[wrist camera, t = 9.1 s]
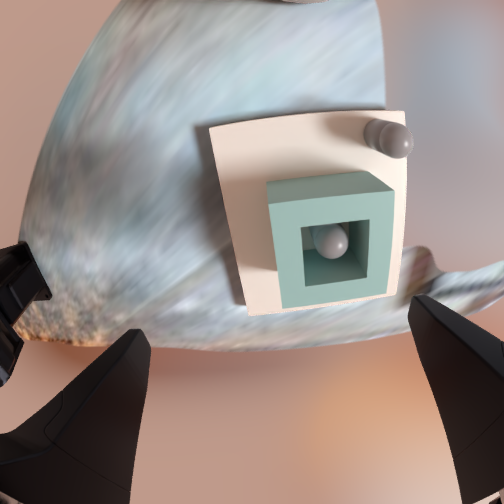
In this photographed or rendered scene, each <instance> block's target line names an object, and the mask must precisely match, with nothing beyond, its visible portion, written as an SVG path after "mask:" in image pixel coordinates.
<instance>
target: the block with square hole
mask: <svg viewBox="0 0 504 504" xmlns="http://www.w3.org/2000/svg"><path fill="white" fill-rule="evenodd" d="M266 185H267V196H268V206H269V213H270V220H271V227H272V234H273V242H274V249H275V256H276V263H277V271H278V279H279V286H280V294H281V302H282V309H285V308H294V307H301V306H309V305H316V304H323V303H330V302H337V301H344V300H350V299H356V298H362V297H368V296H374V295H380V294H386V292H387V285H388V277H389V269H390V260H391V250H392V238H393V223H394V202H395V191H394V190H393V189H392V188H391V187H389V186H388V185H386V184H385V183H384V182H382V181H381V180H380V179H378V178H377V177H375V176H374V175H373V174H371V173H370V172H368V171H364V172H351V173H339V174H329V175H319V176H309V177H300V178H292V179H283V180H276V181H268V182H266ZM340 222H349V245H348V248H347V250H346V252H345V253H344V254H343V255H342V256H340V257H338V258H335V259H328V258H325V257H323V256H321V255H320V254H319V253H318V252H317V250H316V249H311V250H303V251H302V239H301V228H300V227H307V226H315V225H324V224H332V223H340Z"/></svg>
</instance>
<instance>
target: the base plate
mask: <svg viewBox="0 0 504 504" xmlns="http://www.w3.org/2000/svg"><path fill="white" fill-rule="evenodd" d="M209 132H210V137H211V142H212V147H213V152H214V157H215V162H216V167H217V172H218V177H219V181H220V186H221V191H222V196H223V201H224V205H225V210H226V215H227V220H228V224H229V229H230V234H231V238H232V243H233V247H234V252H235V257H236V261H237V266H238V270H239V275H240V279H241V284H242V288H243V293H244V297H245V301H246V306H247V310H248V315H249V316H254V315H263V314H272V313H281V312H289V311H297V310H305V309H312V308H319V307H326V306H333V305H339V304H346V303H352V302H358V301H364V300H370V299H375V298H381V297H386V296H392V295H396V291H397V285H398V278H399V271H400V263H401V255H402V246H403V236H404V223H405V208H406V181H407V169H406V168H407V166H406V165H407V159H406V157H407V155H409V154H410V152H411V151H412V149H413V143H414V141H413V137H412V134H411V132H410V131H409V129H408V128H407V127H406V126H405V114H404V111H397V110H354V111H331V112H316V113H304V114H293V115H284V116H276V117H268V118H261V119H254V120H247V121H241V122H235V123H229V124H224V125H219V126H214V127H211V128H209ZM364 171H368V172H370V173H371V174H373V175H374V176H375V177H377V178H378V179H380V180H381V181H382V182H384V183H385V184H386V185H388V186H389V187H391V188H392V189H393V190H394V191H395V202H394V223H393V238H392V250H391V260H390V269H389V277H388V285H387V292H386V294H380V295H374V296H368V297H362V298H356V299H350V300H344V301H337V302H330V303H323V304H316V305H309V306H301V307H294V308H285V309H282V302H281V294H280V286H279V279H278V271H277V263H276V256H275V249H274V242H273V234H272V227H271V220H270V213H269V206H268V196H267V185H266V182H268V181H276V180H283V179H292V178H300V177H309V176H319V175H329V174H339V173H351V172H364ZM300 228H301V239H302V251H303V250H311V249H316V250H317V252H318V253H319V254H320V255H321V256H323V257H325V258H328V259H335V258H338V257H340V256H342V255H343V254H344V253H345V252H346V250H347V248H348V245H349V222H340V223H332V224H324V225H315V226H307V227H300Z"/></svg>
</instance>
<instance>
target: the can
mask: <svg viewBox="0 0 504 504" xmlns="http://www.w3.org/2000/svg"><path fill="white" fill-rule="evenodd" d="M282 1H286V2H295V3H303V4H307V3H319V2H325V1H328V0H282Z"/></svg>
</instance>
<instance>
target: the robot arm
mask: <svg viewBox="0 0 504 504" xmlns="http://www.w3.org/2000/svg"><path fill="white" fill-rule="evenodd" d="M51 298H52V294H51V292H50V290H49V288H48V286H47V284H46V282H45V280H44V278H43V276H42V274H41V272H40V270H39V268H38V266H37V264H36V262H35V260H34V258H33V256H32V253H31V251H30V249H29V247H28V245H27V244H26V243H25V242H23V243H20V244H17V245H13V246H10V247H7V248H3V249H0V387H2V386H3V385H4V384H5V383H6V382H7V381H8V379H9V378H10V376H11V375H12V372H13V370H14V367H15V364H16V362H17V359H18V357H19V354H20V352H21V349H22V347H23V344H24V341H23V340H22V339H21V338H20V337H19V336H18V335H17V333H16V332H15V330H14V329H13V328H12V327H13V326H14V324H15V323H16V322H17V320H18V319H19V318H20V316H21V315H22V314H23V313H24V311H25V310H26V309H27V308H28V306H29V305H30V304H31V303H32V301H42V300H50V299H51ZM408 322H409V325H410V328H411V331H412V335H413V337H414V341H415V345H416V347H417V351H418V354H419V358H420V361H421V363H422V366H423V368H424V371H425V374H426V376H427V379H428V381H429V384H430V387H431V390H432V392H433V395H434V398H435V401H436V404H437V407H438V410H439V413H440V416H441V419H442V422H443V425H444V429H445V432H446V435H447V439H448V442H449V446H450V450H451V453H452V457H453V461H454V466H455V470H456V474H457V479H458V484H459V489H460V493H461V499H462V504H473V503H476V502H478V501H480V500H482V499H484V498H486V497H488V496H490V495H492V494H494V493H496V492H498V491H499V494H500V496H499V497H497V498H496V499H494V500H492V501H491V502H490V503H489V504H504V342H503V341H500V339H498V338H497V337H495V336H494V335H492V334H490V333H489V332H487V331H486V330H484V329H482V328H481V327H479V326H478V325H476V324H474V323H473V322H471V321H469V320H468V319H466V318H465V317H463V316H461V315H460V314H458V313H456V312H455V311H453V310H451V309H449V308H448V307H446V306H444V305H443V304H441V303H439V302H437V301H436V300H434V299H432V298H431V297H429V296H427V295H425V294H419V295H415V296H413V297H412V299H411V303H410V308H409V312H408ZM150 356H151V347H150V344H149V342H148V340H147V338H146V337H145V335H144V333H143V331H142V330H141V329H129V330H128V331H127V332H126V333H125V334H123V335H122V336H121V337H120V338H119V339H118V340H117V341H116V342H114V343H113V344H112V345H111V346H110V347H109V348H108V349H107V350H106V351H104V352H103V353H102V354H101V355H100V356H99V357H98V358H97V359H96V360H94V361H93V362H92V363H91V364H90V365H89V366H88V367H87V368H86V369H85V370H83V371H82V372H81V373H80V374H79V375H78V376H77V377H76V378H75V379H74V380H73V381H71V382H70V383H69V384H68V385H67V386H66V387H65V388H64V389H63V390H62V391H60V392H59V393H58V394H57V395H56V396H55V397H54V398H53V399H52V400H51V401H50V402H48V403H47V404H46V405H45V406H44V407H42V408H41V409H40V410H39V411H38V412H36V413H35V414H34V415H33V416H31V417H30V418H29V419H27V420H26V421H25V422H24V423H22V424H21V425H20V426H19V427H17V428H16V429H14V430H13V431H11V432H8V433H4V434H0V504H129V503H130V491H131V484H132V476H133V468H134V461H135V455H136V448H137V442H138V435H139V430H140V424H141V419H142V413H143V408H144V403H145V398H146V392H147V386H148V375H149V366H150Z"/></svg>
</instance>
